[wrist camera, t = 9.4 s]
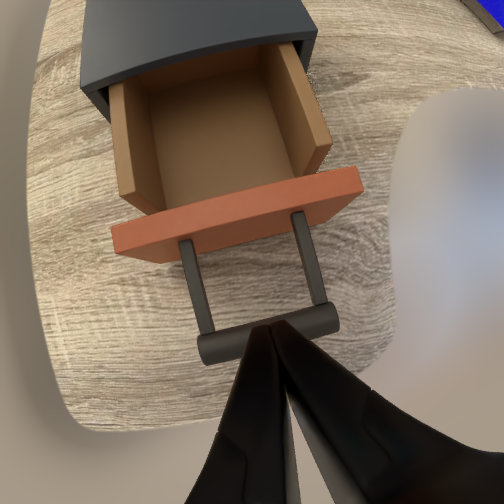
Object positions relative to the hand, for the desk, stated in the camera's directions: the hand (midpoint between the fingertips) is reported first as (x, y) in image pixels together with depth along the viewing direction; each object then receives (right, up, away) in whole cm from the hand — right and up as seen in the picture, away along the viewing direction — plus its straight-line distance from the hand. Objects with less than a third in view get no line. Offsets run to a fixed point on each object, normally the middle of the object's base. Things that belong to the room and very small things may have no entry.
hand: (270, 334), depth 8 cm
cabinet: (-5, +17, +14) cm, 23 cm away
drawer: (-2, +6, +12) cm, 14 cm away
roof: (+31, +36, +16) cm, 50 cm away
